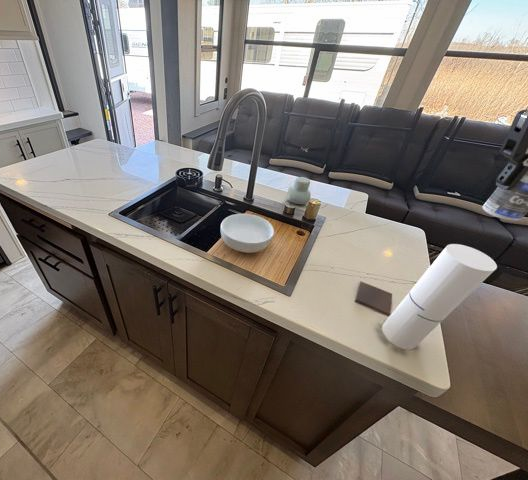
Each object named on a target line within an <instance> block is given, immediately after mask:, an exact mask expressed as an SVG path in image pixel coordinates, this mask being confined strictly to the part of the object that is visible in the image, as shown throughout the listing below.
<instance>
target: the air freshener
mask: <svg viewBox="0 0 528 480" xmlns="http://www.w3.org/2000/svg"><path fill="white" fill-rule="evenodd" d="M310 185H311V180H310V179H309V178H308V177H306V176H298V177H296V178H295V180H294V183H293V186H290V187H288V190H287V200H288V201H289V202H291V203H293V204H295V205H305V204H308V203H309V202H310V201H311V196H312V195H311V194H312V193H311V190H310V189H309V188H310ZM309 200H310V201H309ZM308 201H309V202H308Z"/></svg>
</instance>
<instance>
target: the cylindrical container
mask: <svg viewBox="0 0 528 480" xmlns="http://www.w3.org/2000/svg"><path fill="white" fill-rule="evenodd" d="M497 268H498V265H497V263H496V261H494V259H493V258H492V257H490V256H489V255H487V254H486V253H484V252H482V251H480V250H479V249H476V248H474V247H471V246H467V245H464V244H459V243H450V244H447V245H446V246H445V247H444V249H442V251H441V252H440V254H438V256H437V257H436V258H435V260H433V262H432V263H431V264H430V265H429V267H428V268H427V269H426V271H425V272H424V273H423V274H422V276H421V277H420V278H419V279H418V281H417V282H416V283H415V285H413V287H411V290H409V292H408V293H407V294H406V295H405V297H404V298H403V299H402V301H401V302H400V303H399V304H398V305H397V306H396V308H395V309H394V310H393V312H392V313H390V315H389V316H388V318H387V319H386V320H385V322H384V323H383V324H382V326H381V331H382V334H383V336H384V337H385V339H387V341H388V342H390V344H392V345H394V346H395V347H398V348H399V349H402V350H413V349H415V348H416V347H417V346H418V345H419V344H420V343H421V342H422V341H423V340H424V339H425V338H426V337H427V336H428V335H429V334H430V333H431V332H433V330H434V329H436V328H437V327H438V326H439V325H440V324H441V323H442V322H443V321H444V320H445V319H446V318H447V317H448V316H449V315H450V314H451V313H452V312H453V311H455V309H456V308H457V307H458V306H459V305H461V303H463V302H464V301H465V300H466V299H467V298H468V297H469V296H470V295H471V294H472V293H473V292H474V291H475V290H476V289H477V288H478V287H479V286H480V285H481V284H483V282H484V281H485V280H487V278H489V277H490V276H491V275H492V274H493V273H494V272H495V271H496V270H497Z"/></svg>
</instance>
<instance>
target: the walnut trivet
mask: <svg viewBox="0 0 528 480" xmlns="http://www.w3.org/2000/svg"><path fill="white" fill-rule="evenodd" d="M392 301H393V293H391V292H390V291H387V290H385V289H384V290H383V289H381V288H379V287H376V286H374V285H372V284H369V283H367V282H364V281H360V282H359V284H358V287H357V291H356V295H355V300H354V302H355V303H357V304H359V305H362V306H364V307H366V308H369V309H371V310H374V311H375V312H378V313H380V314H382V315H385V316H387V317H390V316H391V314H392V313H391V311H392Z"/></svg>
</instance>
